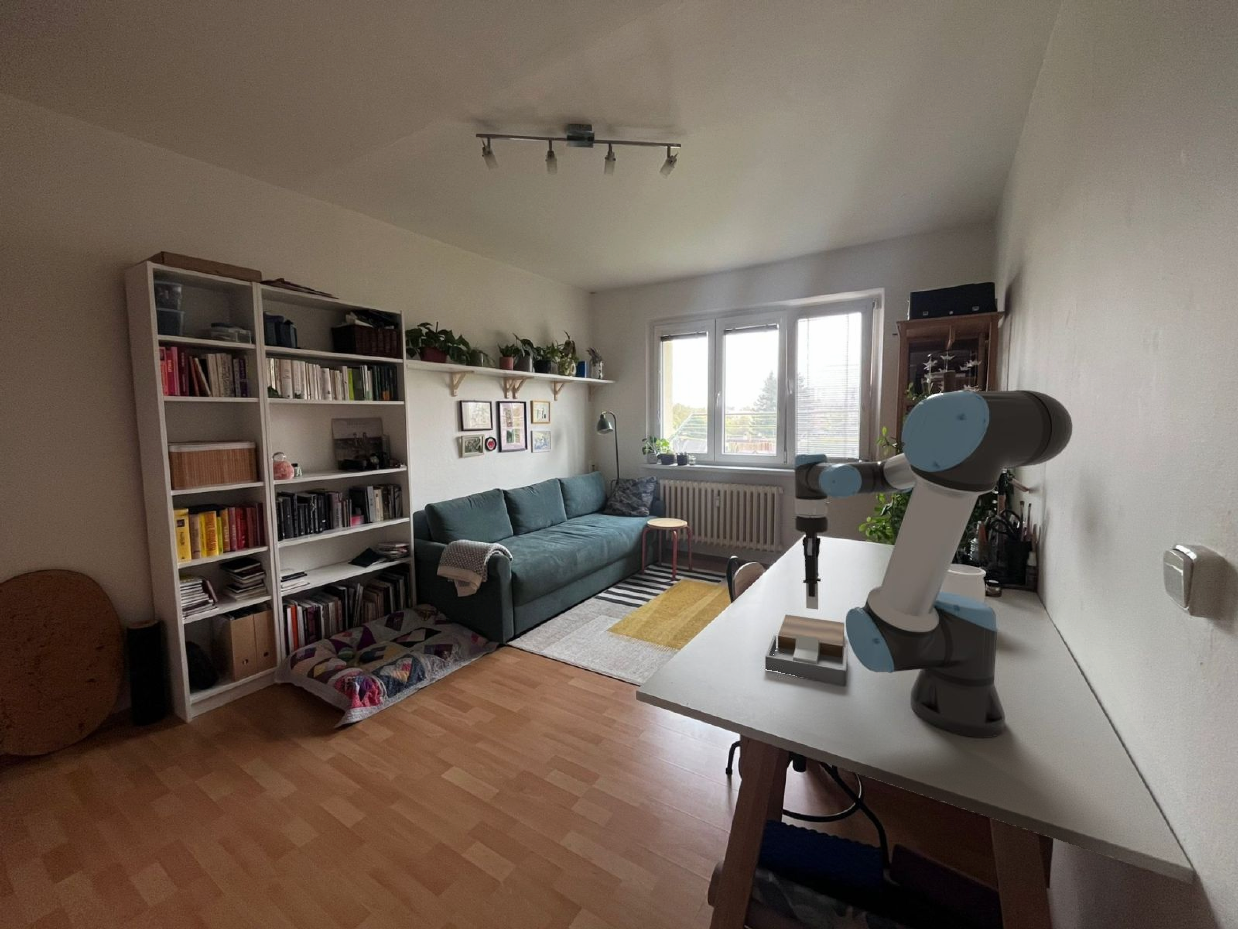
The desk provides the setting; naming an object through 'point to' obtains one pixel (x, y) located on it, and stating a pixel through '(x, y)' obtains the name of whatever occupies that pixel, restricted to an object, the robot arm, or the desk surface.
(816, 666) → the tray
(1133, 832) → the desk surface
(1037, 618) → the desk surface
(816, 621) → the board
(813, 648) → the tile
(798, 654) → the light grey block
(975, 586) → the jar
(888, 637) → the robot arm
